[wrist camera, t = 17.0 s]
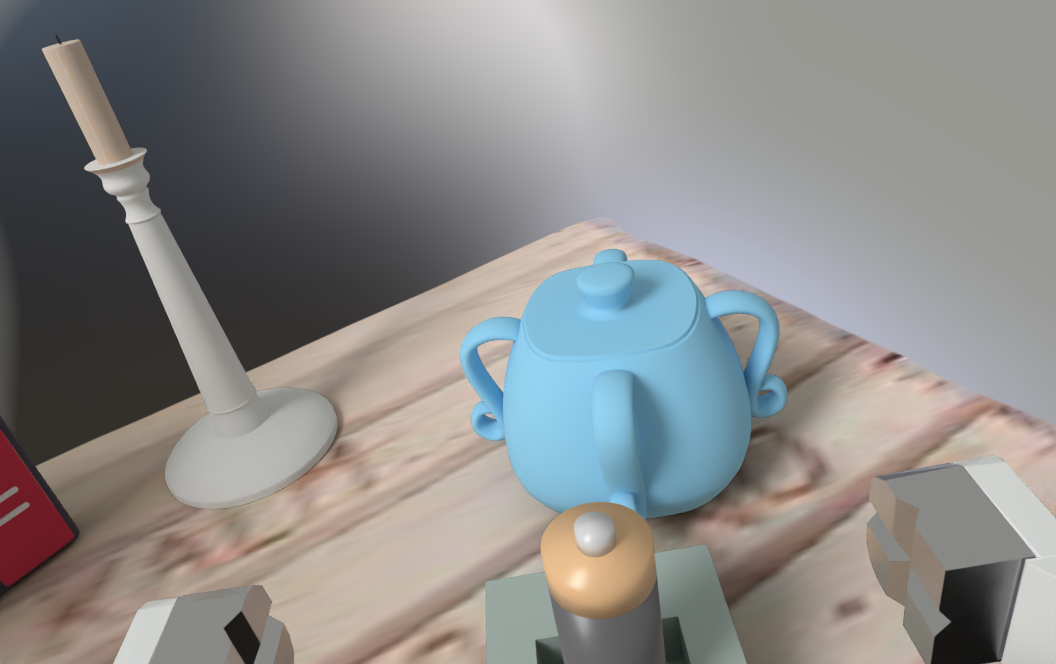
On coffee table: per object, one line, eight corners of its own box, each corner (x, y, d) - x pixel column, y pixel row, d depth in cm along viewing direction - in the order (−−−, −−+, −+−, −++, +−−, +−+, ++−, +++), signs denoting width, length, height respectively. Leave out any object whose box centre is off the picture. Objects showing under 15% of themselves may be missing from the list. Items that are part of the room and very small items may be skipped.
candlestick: (338, 379, 64) (192, -4, 48) (336, 479, 53) (146, 26, 37) (185, 419, 63) (-15, 41, 47) (150, 530, 52) (-124, 87, 36)
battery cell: (585, 791, 32) (539, 578, 25) (577, 701, 35) (535, 493, 29) (682, 779, 31) (660, 562, 25) (664, 690, 35) (641, 479, 28)
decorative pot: (464, 455, 53) (412, 284, 46) (642, 354, 59) (621, 189, 52) (612, 604, 40) (572, 402, 33) (818, 456, 47) (822, 258, 40)
